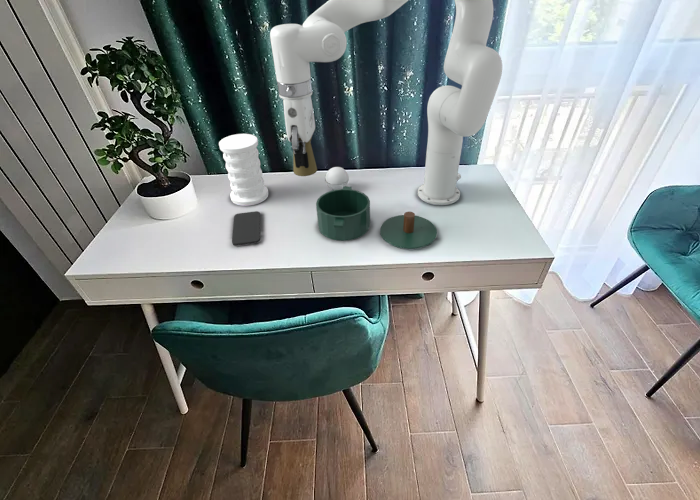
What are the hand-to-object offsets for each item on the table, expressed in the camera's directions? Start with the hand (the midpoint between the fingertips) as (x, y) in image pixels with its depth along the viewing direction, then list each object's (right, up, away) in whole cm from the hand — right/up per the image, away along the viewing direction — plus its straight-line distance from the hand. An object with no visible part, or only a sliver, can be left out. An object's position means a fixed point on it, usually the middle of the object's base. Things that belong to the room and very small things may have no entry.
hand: (304, 162), depth 101 cm
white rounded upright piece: (+8, -4, +26) cm, 27 cm away
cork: (0, -2, +2) cm, 2 cm away
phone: (-17, -16, +10) cm, 26 cm away
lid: (+27, -17, +6) cm, 33 cm away
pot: (+10, -15, +10) cm, 21 cm away
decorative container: (-20, -5, +25) cm, 32 cm away
